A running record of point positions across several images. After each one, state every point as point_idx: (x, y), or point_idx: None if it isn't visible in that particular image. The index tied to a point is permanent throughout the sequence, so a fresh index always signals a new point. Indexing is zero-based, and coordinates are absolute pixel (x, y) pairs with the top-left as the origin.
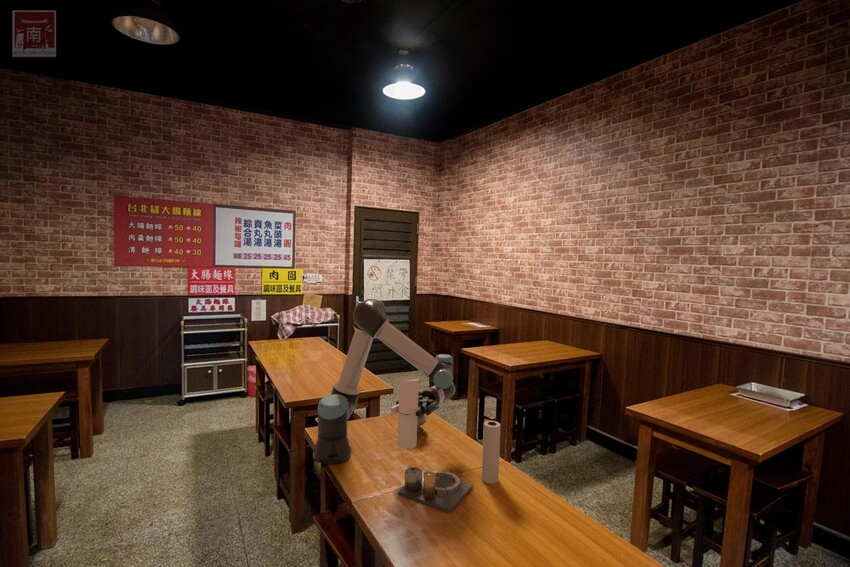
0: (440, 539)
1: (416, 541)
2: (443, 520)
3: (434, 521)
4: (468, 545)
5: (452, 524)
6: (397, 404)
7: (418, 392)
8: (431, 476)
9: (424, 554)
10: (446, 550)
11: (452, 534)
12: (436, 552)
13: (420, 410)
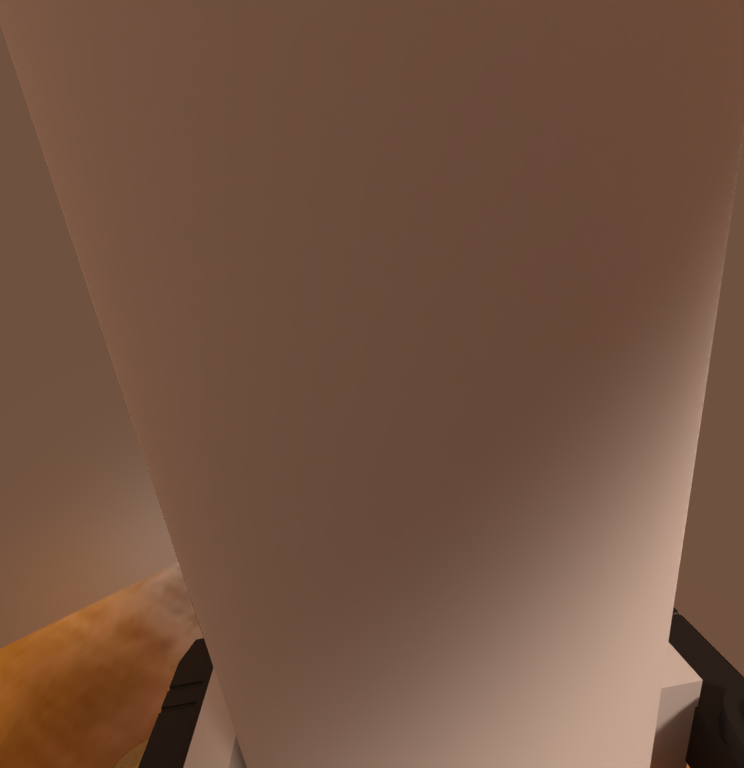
0: (106, 648)
1: (179, 602)
2: (91, 740)
3: (131, 709)
4: (6, 683)
5: (50, 744)
6: (719, 657)
7: (143, 455)
8: (124, 764)
9: (151, 585)
10: (89, 626)
11: (59, 693)
12: (119, 606)
13: (174, 757)
